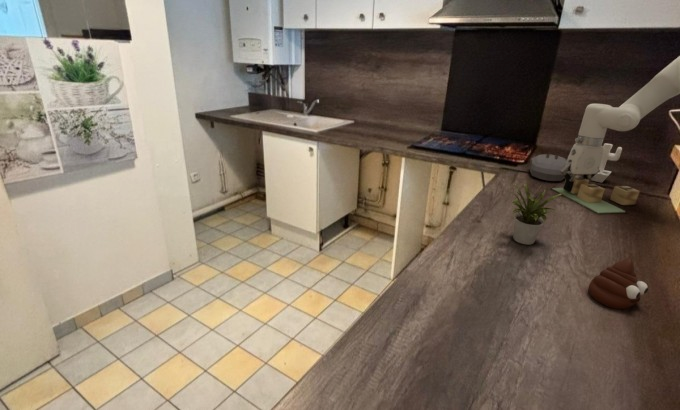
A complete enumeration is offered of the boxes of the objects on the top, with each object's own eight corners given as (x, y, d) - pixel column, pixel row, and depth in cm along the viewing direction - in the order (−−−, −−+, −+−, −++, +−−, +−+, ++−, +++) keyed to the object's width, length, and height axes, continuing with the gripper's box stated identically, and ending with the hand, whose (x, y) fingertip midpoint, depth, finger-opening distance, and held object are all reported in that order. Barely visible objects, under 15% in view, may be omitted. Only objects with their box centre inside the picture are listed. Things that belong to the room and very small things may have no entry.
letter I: (589, 196, 127) (593, 183, 125) (600, 202, 122) (605, 188, 120) (576, 197, 126) (580, 183, 124) (587, 203, 122) (592, 188, 120)
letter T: (622, 199, 127) (627, 185, 125) (634, 204, 122) (640, 190, 120) (609, 199, 126) (614, 185, 124) (621, 205, 122) (627, 191, 119)
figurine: (585, 175, 151) (596, 140, 145) (612, 180, 145) (624, 144, 139) (581, 179, 146) (592, 143, 140) (609, 185, 140) (621, 147, 134)
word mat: (575, 188, 136) (576, 187, 136) (625, 212, 116) (625, 211, 116) (551, 189, 135) (552, 188, 134) (597, 213, 115) (598, 212, 115)
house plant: (480, 236, 99) (492, 180, 92) (505, 222, 107) (517, 170, 101) (533, 258, 89) (550, 197, 82) (556, 241, 97) (572, 185, 91)
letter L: (575, 188, 133) (579, 175, 131) (585, 193, 128) (589, 179, 126) (562, 188, 132) (566, 175, 130) (572, 193, 128) (576, 179, 126)
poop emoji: (604, 280, 81) (617, 244, 77) (648, 302, 74) (665, 264, 70) (578, 292, 76) (591, 255, 73) (622, 317, 70) (639, 277, 66)
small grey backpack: (529, 166, 161) (524, 178, 145) (534, 148, 157) (529, 158, 142) (568, 172, 154) (567, 186, 138) (573, 153, 150) (573, 165, 135)
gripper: (574, 144, 118) (560, 194, 126) (620, 143, 121) (603, 193, 128) (559, 138, 125) (546, 187, 133) (602, 138, 127) (587, 186, 135)
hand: (574, 189), depth 130 cm, fingers closed on letter L, 5 cm apart
